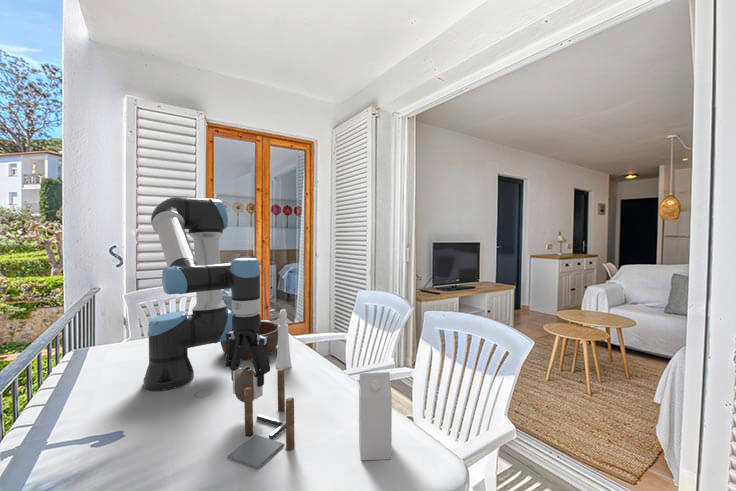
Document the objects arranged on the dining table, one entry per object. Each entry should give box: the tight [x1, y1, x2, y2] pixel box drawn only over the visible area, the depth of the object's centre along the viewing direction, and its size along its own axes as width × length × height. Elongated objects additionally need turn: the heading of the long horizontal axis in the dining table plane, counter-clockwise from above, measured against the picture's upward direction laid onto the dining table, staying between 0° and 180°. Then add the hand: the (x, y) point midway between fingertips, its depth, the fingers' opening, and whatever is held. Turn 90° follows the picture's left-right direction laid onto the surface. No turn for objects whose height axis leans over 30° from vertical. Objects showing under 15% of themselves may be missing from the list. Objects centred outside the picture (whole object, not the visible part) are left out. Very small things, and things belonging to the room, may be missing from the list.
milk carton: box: [358, 371, 393, 461], centre depth 81 cm, size 7×7×19 cm
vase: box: [234, 366, 256, 403], centre depth 96 cm, size 7×7×9 cm
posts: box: [243, 368, 296, 452], centre depth 91 cm, size 15×15×12 cm
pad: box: [226, 434, 284, 470], centre depth 81 cm, size 9×9×1 cm
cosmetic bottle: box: [275, 308, 293, 370], centre depth 132 cm, size 6×6×22 cm
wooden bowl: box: [220, 320, 279, 361], centre depth 148 cm, size 25×25×10 cm
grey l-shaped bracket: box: [256, 414, 286, 440], centre depth 90 cm, size 10×6×1 cm, turn 66°
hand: (247, 394), depth 96 cm, fingers closed on vase, 7 cm apart
